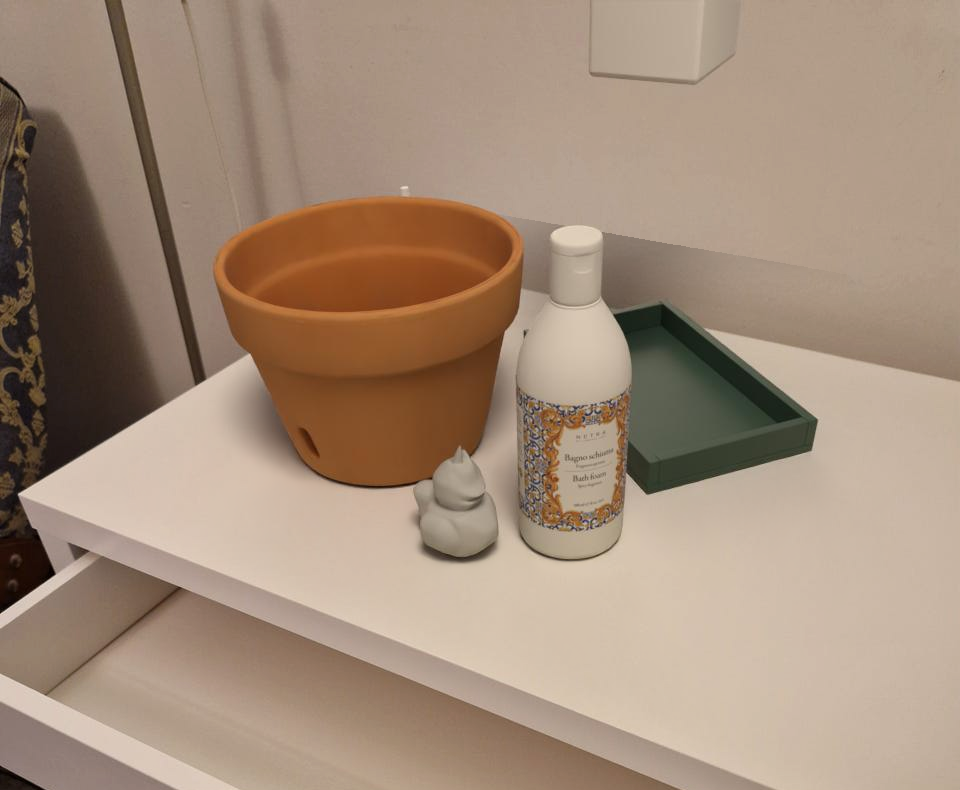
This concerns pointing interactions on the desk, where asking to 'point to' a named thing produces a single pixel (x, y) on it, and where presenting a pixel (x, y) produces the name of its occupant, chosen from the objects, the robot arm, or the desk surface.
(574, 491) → the bath foam
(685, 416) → the tray
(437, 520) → the rubber duck
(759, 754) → the desk surface
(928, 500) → the desk surface
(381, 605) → the desk surface
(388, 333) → the flower pot
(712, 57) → the medicine bottle
